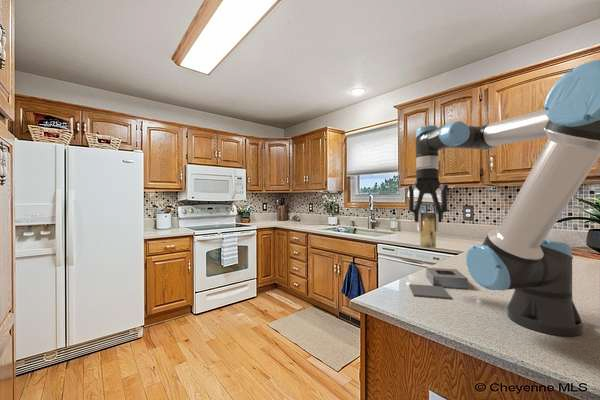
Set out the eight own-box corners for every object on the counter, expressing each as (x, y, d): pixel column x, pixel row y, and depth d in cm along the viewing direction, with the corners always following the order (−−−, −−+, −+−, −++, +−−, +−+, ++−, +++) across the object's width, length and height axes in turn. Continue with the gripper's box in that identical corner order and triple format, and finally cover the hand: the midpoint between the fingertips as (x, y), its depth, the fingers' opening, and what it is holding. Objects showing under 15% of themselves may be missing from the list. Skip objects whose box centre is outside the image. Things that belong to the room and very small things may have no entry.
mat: (451, 299, 89) (451, 297, 89) (413, 296, 93) (413, 294, 93) (442, 287, 101) (442, 286, 101) (409, 285, 104) (409, 284, 104)
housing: (467, 288, 99) (467, 278, 100) (433, 286, 103) (433, 276, 103) (456, 278, 113) (456, 269, 113) (426, 276, 116) (426, 267, 116)
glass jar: (437, 248, 94) (436, 213, 94) (421, 247, 95) (421, 213, 95) (434, 245, 99) (433, 212, 99) (419, 245, 100) (418, 212, 100)
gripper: (451, 168, 98) (452, 230, 98) (400, 170, 103) (400, 229, 103) (457, 166, 91) (458, 232, 91) (402, 168, 96) (402, 231, 96)
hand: (427, 231), depth 97 cm, fingers closed on glass jar, 5 cm apart
